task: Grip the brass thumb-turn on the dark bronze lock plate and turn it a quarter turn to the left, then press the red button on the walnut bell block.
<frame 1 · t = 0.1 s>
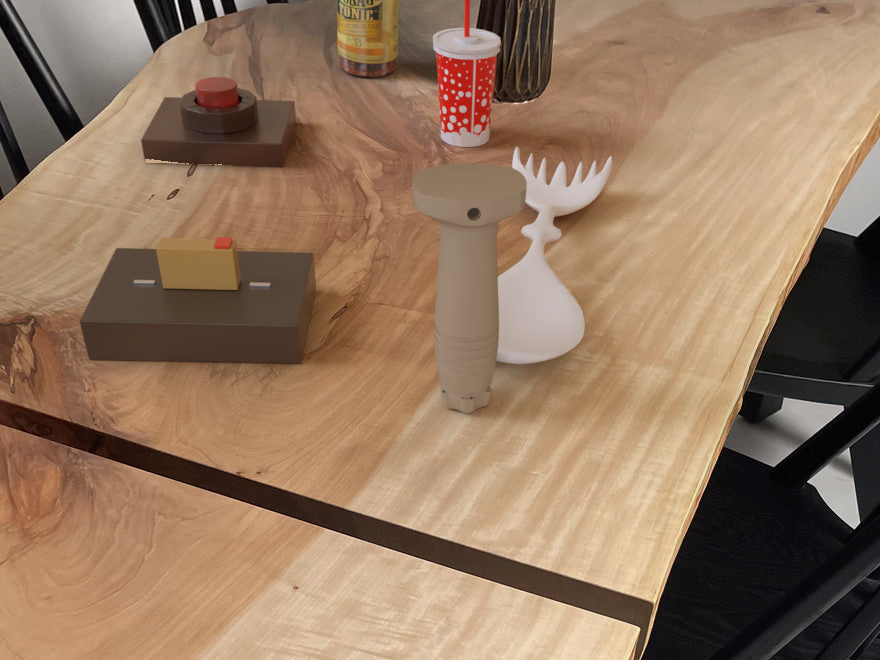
bell block: (223, 143, 100), on the table
bell button: (217, 93, 97), point 4 cm above the table, slide at 0.1 cm
handle: (465, 403, 71), on the table
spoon: (538, 272, 85), on the table
lock plate: (208, 322, 77), on the table
lock knob: (199, 262, 74), point 5 cm above the table, hinge at 0.0°
brown tonic bottle: (370, 72, 116), on the table
beverage cup: (465, 139, 104), on the table
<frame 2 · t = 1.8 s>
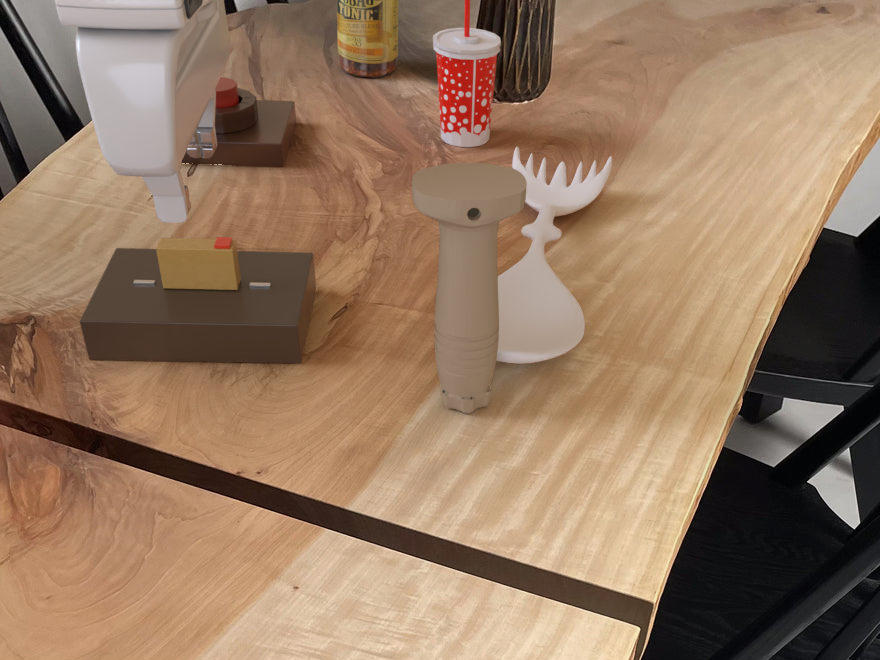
hand: (189, 184, 70), 10 cm above the table, tool pointing down, fingers open, 8 cm apart
nothing on the table moved.
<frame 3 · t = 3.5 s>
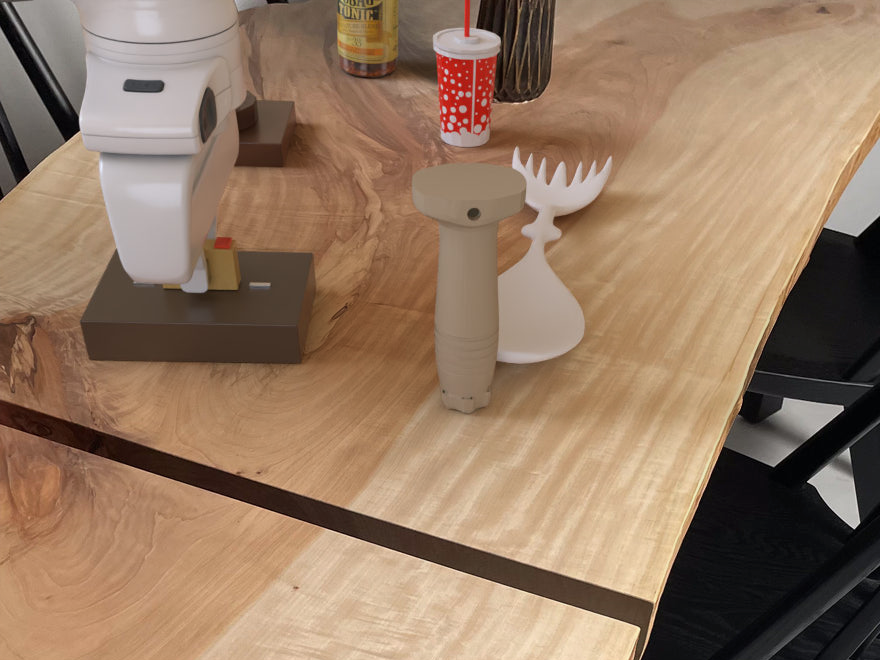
hand: (200, 276, 75), 4 cm above the table, tool pointing down, fingers closed on lock knob
lock knob: (199, 262, 74), point 5 cm above the table, hinge at 0.0°, touching gripper
everything else where it was.
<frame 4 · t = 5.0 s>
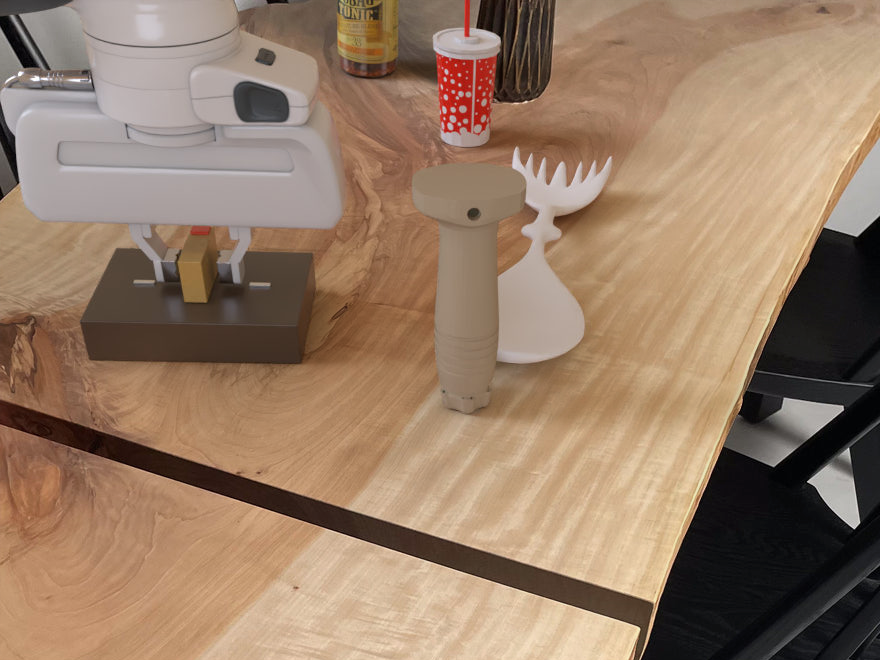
hand: (201, 279, 75), 3 cm above the table, tool pointing down, fingers open, 3 cm apart
lock knob: (199, 262, 74), point 5 cm above the table, hinge at 90.1°
everything else where it was.
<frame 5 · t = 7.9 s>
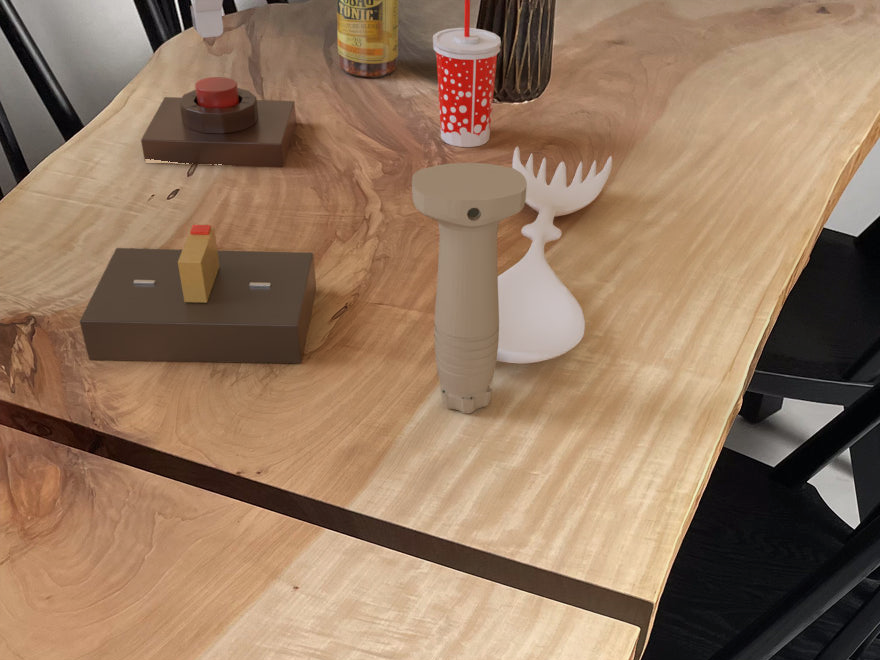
hand: (191, 14, 81), 15 cm above the table, tool pointing down, fingers open, 8 cm apart
nothing on the table moved.
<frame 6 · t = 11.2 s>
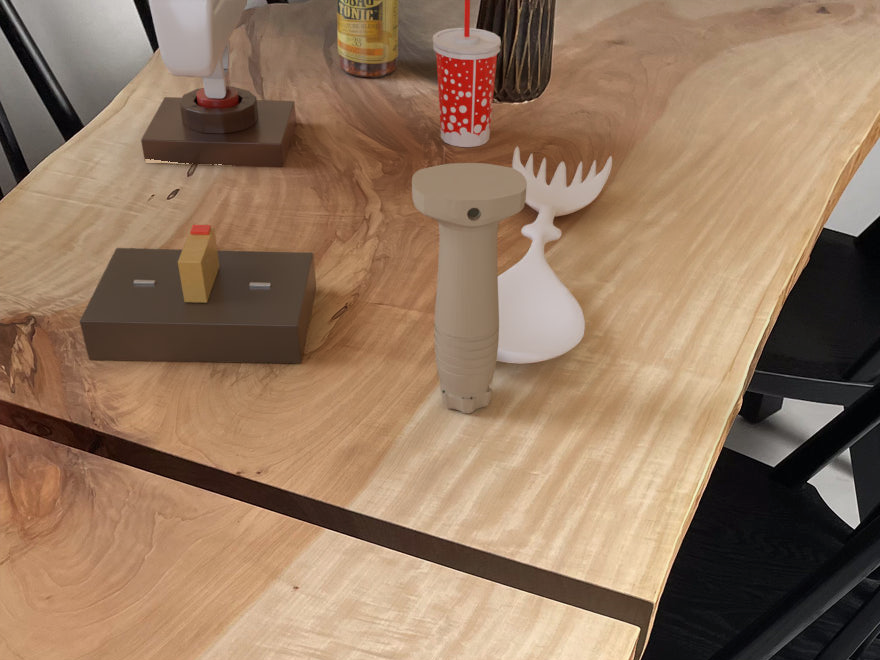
hand: (218, 92, 97), 5 cm above the table, tool pointing down, fingers closed, pressing on bell button
bell button: (218, 102, 98), point 4 cm above the table, slide at -0.7 cm, touching gripper
everything else where it was.
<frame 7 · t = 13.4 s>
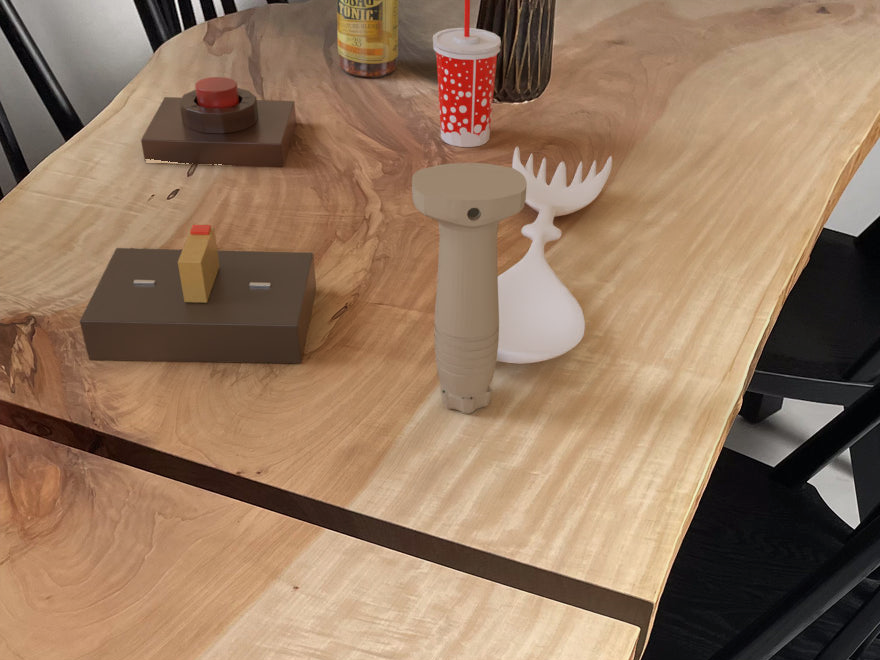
bell button: (217, 93, 97), point 4 cm above the table, slide at 0.1 cm
everything else where it was.
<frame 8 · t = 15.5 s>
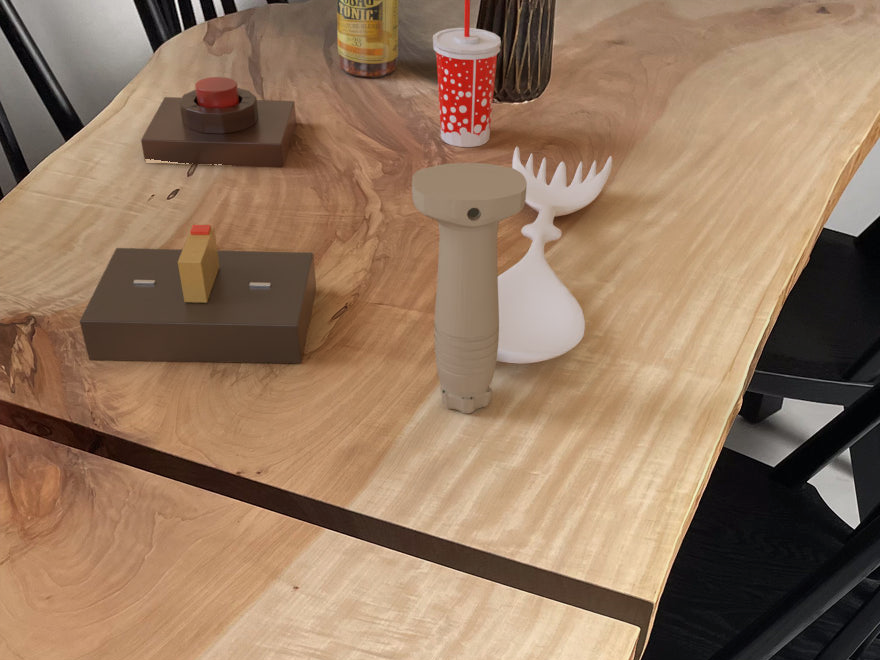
nothing on the table moved.
at the end: lock knob at +90° (first picture: +0°); bell button pushed in 1.0 cm at the most during the clip, back to where it started at the end; bell button slide at 0.1 cm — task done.
